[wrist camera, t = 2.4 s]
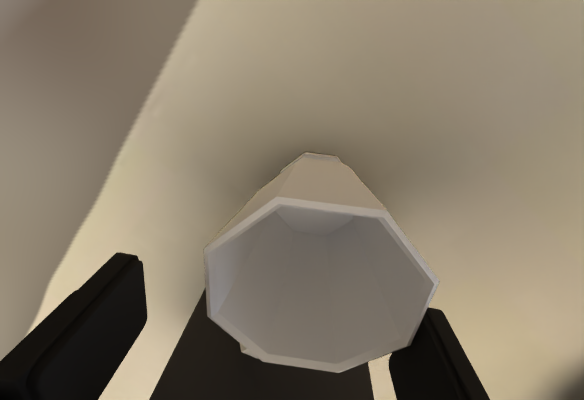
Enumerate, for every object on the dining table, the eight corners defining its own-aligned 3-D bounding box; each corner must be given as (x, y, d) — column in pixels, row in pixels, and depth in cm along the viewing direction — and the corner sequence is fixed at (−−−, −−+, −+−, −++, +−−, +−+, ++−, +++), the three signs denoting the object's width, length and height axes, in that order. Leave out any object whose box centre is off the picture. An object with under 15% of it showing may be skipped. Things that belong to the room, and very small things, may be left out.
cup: (408, 167, 14) (500, 274, 7) (311, 288, 18) (307, 432, 11) (289, 98, 13) (255, 140, 6) (216, 243, 17) (145, 369, 10)
